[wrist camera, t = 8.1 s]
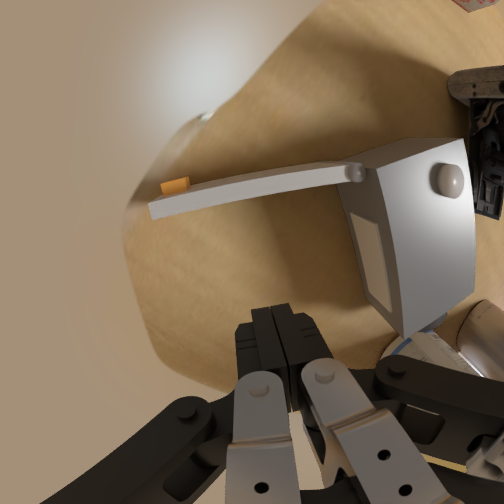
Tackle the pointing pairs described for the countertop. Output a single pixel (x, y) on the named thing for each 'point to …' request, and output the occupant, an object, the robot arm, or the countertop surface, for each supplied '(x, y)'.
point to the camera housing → (413, 229)
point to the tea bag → (474, 4)
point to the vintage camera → (484, 134)
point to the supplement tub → (429, 352)
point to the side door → (250, 186)
